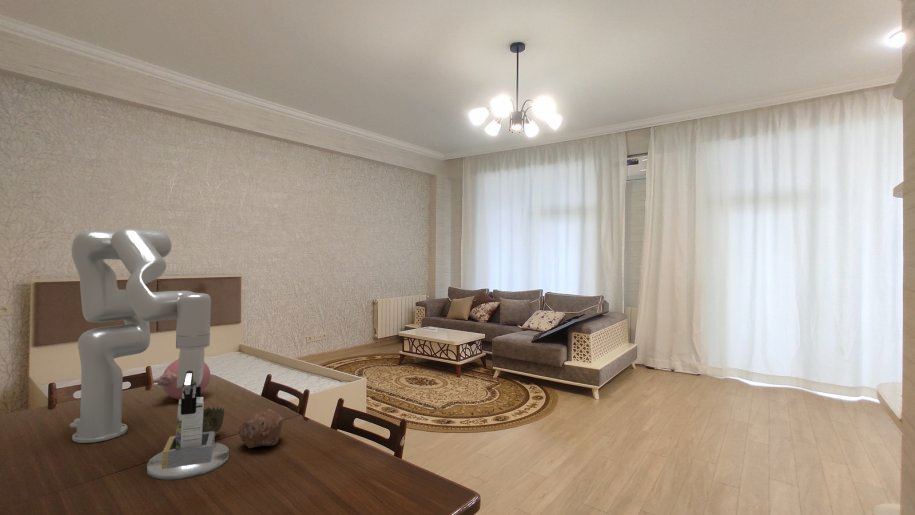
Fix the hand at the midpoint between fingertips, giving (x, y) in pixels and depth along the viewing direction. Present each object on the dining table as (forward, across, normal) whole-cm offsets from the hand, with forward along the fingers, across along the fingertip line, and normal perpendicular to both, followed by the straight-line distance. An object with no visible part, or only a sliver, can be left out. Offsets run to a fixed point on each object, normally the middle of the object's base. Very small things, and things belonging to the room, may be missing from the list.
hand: (191, 407), depth 114 cm
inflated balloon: (+14, -57, -10) cm, 59 cm away
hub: (+14, 0, 0) cm, 14 cm away
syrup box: (+13, 0, 0) cm, 13 cm away
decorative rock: (+14, -5, +17) cm, 23 cm away
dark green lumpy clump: (+14, -16, +3) cm, 21 cm away
